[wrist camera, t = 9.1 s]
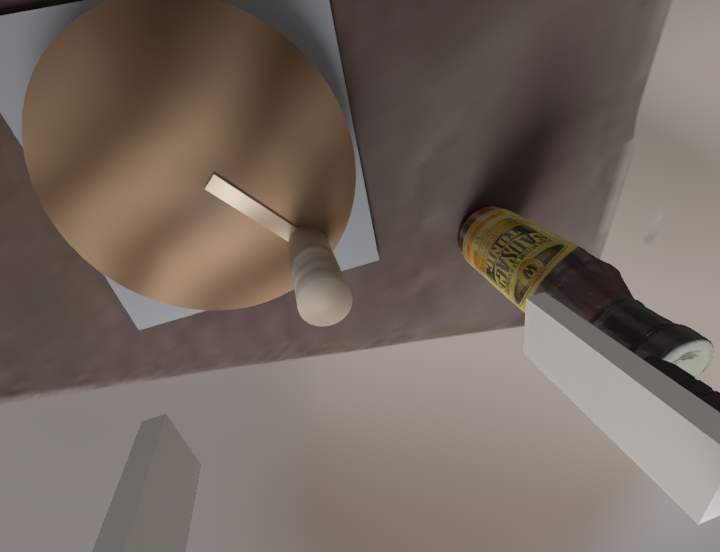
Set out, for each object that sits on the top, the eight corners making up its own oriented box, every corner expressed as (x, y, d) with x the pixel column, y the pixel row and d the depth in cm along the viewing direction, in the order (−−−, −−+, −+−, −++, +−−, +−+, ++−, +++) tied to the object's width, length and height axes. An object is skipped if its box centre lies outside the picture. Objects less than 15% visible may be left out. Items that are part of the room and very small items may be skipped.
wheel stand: (-44, 28, 20) (-55, 25, 20) (319, -39, 23) (321, -43, 22) (141, 325, 31) (138, 330, 30) (376, 256, 33) (379, 260, 33)
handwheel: (0, 202, 24) (-217, 284, 13) (142, -86, 19) (-9, -313, 9) (259, 327, 33) (256, 435, 22) (396, 147, 28) (473, 174, 18)
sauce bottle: (477, 192, 33) (710, 291, 16) (521, 219, 36) (764, 330, 18) (440, 251, 35) (611, 398, 18) (485, 273, 37) (672, 420, 20)
